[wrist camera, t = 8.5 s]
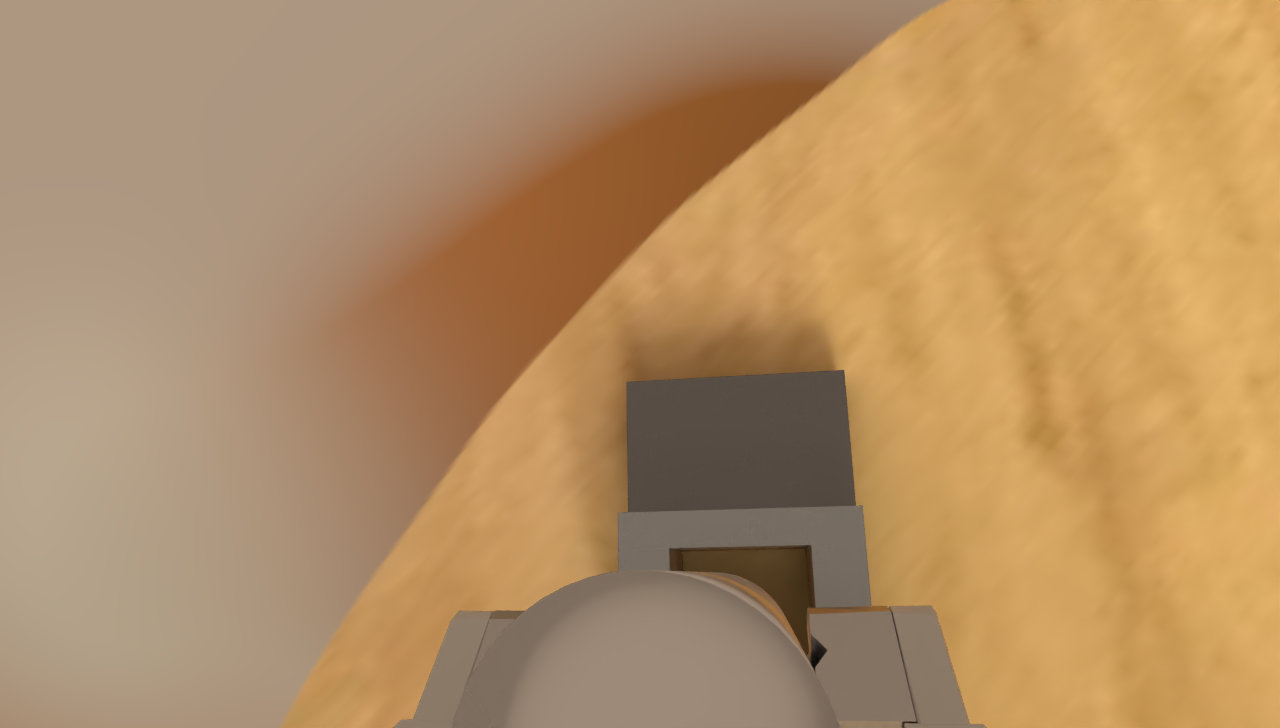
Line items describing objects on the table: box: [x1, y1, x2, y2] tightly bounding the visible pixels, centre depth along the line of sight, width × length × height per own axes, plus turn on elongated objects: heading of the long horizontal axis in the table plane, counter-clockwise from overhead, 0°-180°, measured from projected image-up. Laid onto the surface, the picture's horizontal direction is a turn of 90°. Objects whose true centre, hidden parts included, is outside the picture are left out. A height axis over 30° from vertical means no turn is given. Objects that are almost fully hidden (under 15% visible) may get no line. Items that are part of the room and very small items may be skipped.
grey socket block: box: [618, 370, 871, 608], centre depth 27 cm, size 8×17×4 cm, turn 1°
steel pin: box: [451, 570, 840, 728], centre depth 11 cm, size 3×3×10 cm
